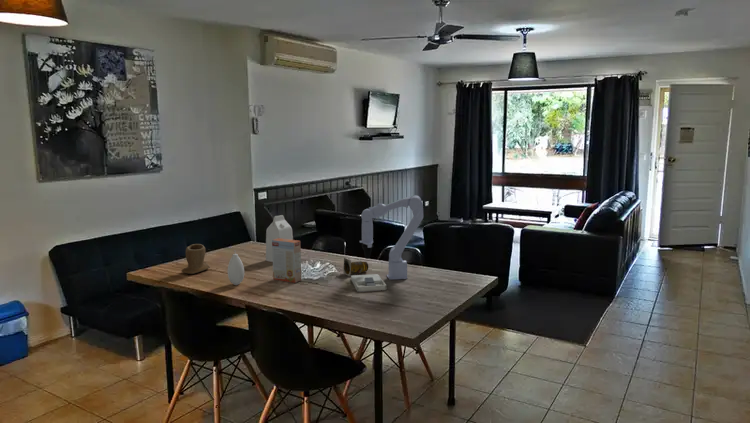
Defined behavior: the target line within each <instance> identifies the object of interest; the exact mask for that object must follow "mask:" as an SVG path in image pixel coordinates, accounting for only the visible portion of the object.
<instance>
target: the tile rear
mask: <svg viewBox="0 0 750 423" xmlns="http://www.w3.org/2000/svg"><path fill="white" fill-rule="evenodd" d="M366 283H374V280H373V277H369V278H365V285H366Z"/></svg>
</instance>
